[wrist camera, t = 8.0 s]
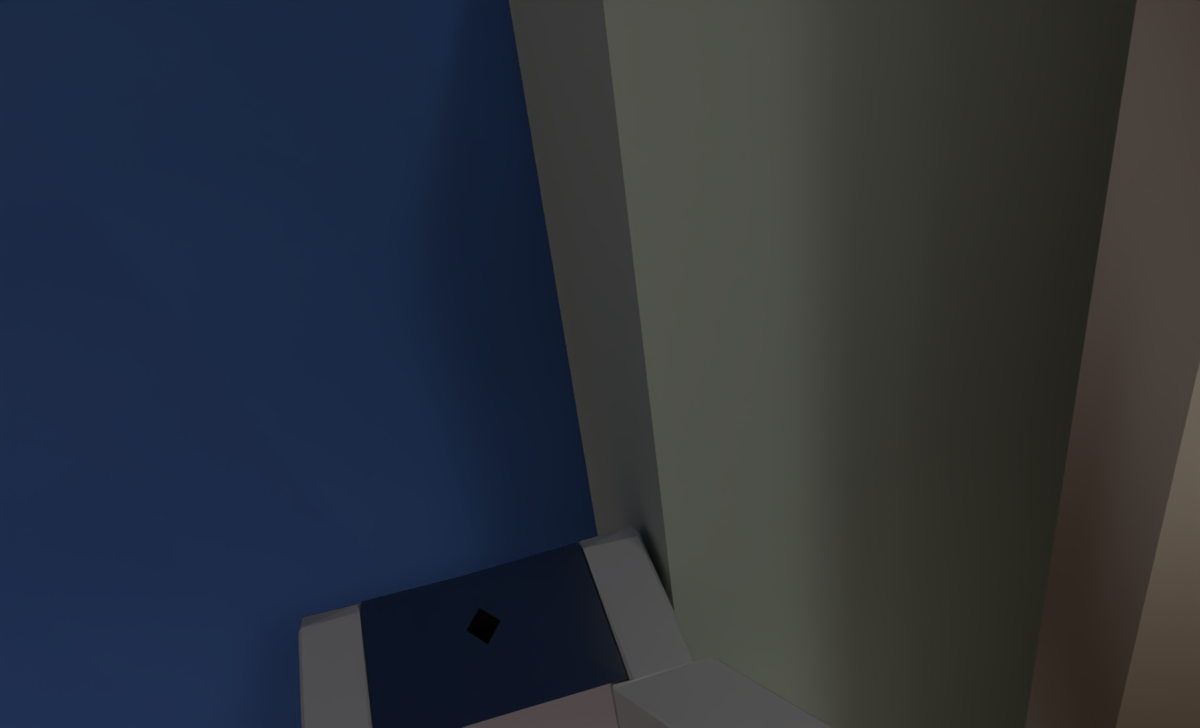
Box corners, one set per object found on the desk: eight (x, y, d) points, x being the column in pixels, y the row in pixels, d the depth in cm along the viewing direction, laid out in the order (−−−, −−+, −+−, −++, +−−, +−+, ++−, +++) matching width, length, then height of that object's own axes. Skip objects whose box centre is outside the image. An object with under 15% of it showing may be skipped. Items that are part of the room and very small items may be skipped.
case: (478, -133, 9) (600, -28, 6) (1381, -292, 10) (1887, -278, 7) (627, 742, 16) (721, 1017, 13) (1164, 578, 17) (1375, 788, 14)
